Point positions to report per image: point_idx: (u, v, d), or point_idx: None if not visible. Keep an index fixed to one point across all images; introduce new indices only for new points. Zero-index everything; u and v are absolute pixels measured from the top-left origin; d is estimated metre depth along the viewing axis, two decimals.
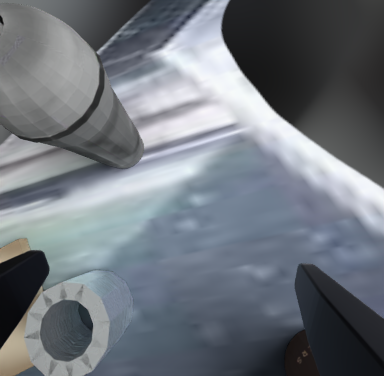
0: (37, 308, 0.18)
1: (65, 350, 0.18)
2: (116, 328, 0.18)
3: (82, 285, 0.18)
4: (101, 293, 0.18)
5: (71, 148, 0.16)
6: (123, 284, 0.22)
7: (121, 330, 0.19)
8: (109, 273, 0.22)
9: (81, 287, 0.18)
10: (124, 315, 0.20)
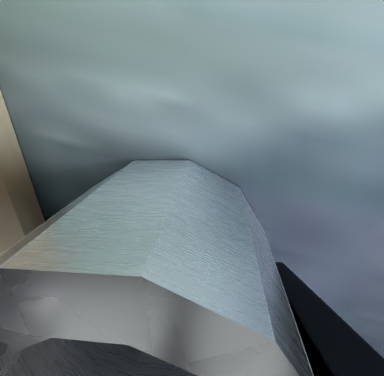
0: None
1: None
2: None
3: (266, 344, 0.03)
4: (304, 359, 0.04)
5: None
6: (268, 243, 0.07)
7: None
8: (243, 200, 0.07)
9: (253, 348, 0.03)
10: None
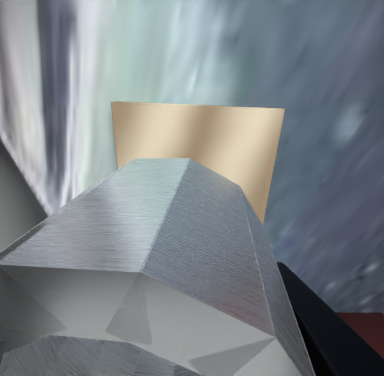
0: None
1: None
2: None
3: (267, 340, 0.03)
4: (304, 357, 0.04)
5: None
6: (268, 241, 0.07)
7: None
8: (244, 198, 0.07)
9: (254, 345, 0.03)
10: None
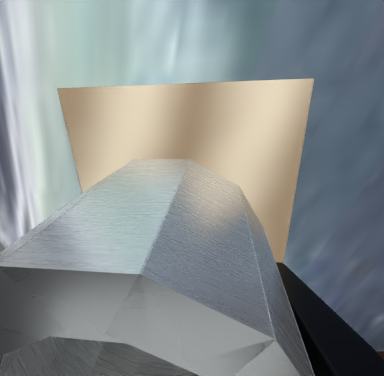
0: None
1: None
2: None
3: (267, 343, 0.03)
4: (304, 358, 0.04)
5: None
6: (268, 242, 0.07)
7: None
8: (243, 199, 0.07)
9: (254, 347, 0.03)
10: None
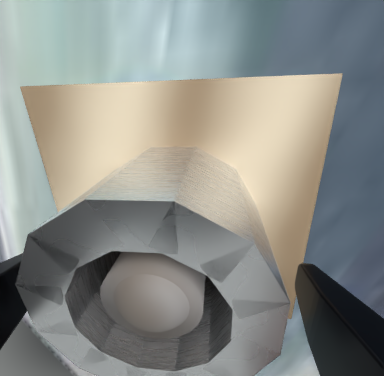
0: (62, 238, 0.05)
1: None
2: None
3: (249, 246, 0.05)
4: (277, 273, 0.06)
5: None
6: None
7: None
8: (239, 178, 0.08)
9: (241, 249, 0.05)
10: None
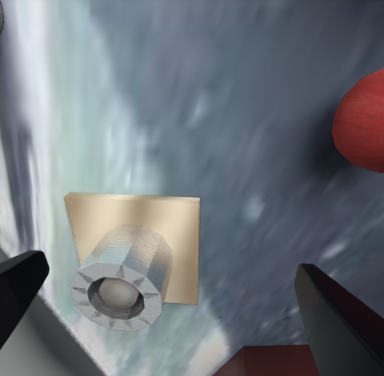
0: (88, 272, 0.16)
1: None
2: None
3: (145, 277, 0.16)
4: (159, 284, 0.16)
5: None
6: (170, 255, 0.20)
7: None
8: (160, 240, 0.19)
9: (142, 277, 0.16)
10: None
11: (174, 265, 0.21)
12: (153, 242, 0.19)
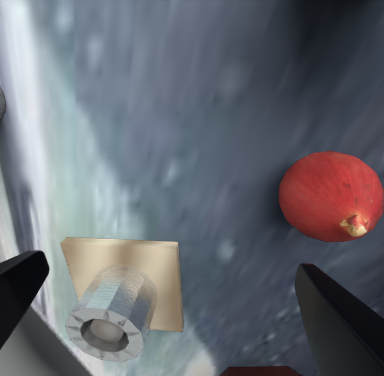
0: (79, 315, 0.19)
1: None
2: None
3: (127, 319, 0.18)
4: (141, 323, 0.19)
5: None
6: (154, 291, 0.23)
7: None
8: (144, 280, 0.22)
9: (125, 319, 0.18)
10: None
11: (159, 298, 0.24)
12: (137, 283, 0.21)
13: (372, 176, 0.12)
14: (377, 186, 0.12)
